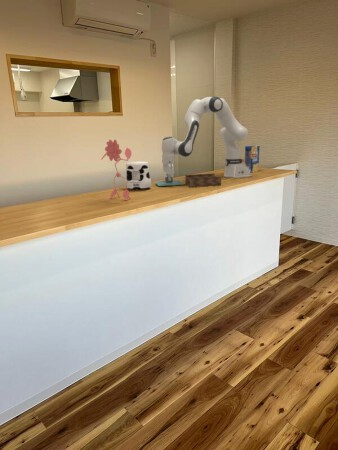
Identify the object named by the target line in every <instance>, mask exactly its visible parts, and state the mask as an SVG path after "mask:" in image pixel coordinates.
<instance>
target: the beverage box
mask: <svg viewBox="0 0 338 450" xmlns="http://www.w3.org/2000/svg"><path fill="white" fill-rule="evenodd" d="M244 150H245V151H244V165H245V166H246V167H247V168H248V169H249V174H252V173H258V172H259V166H260V165H259V164H260V163H259V162H260V145H246V146H244Z"/></svg>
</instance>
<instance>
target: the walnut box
mask: <svg viewBox="0 0 338 450" xmlns="http://www.w3.org/2000/svg"><path fill="white" fill-rule="evenodd" d="M184 178H185V180H184V181H185V182H184V183H185V185H186V186H188V187H189V188H203V187H204V188H205V187H206V188H207V187H219V186H220V187H221V186H222V176H221V175H215V172H214V173H200V174H199V173H197V174H185V175H184Z"/></svg>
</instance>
